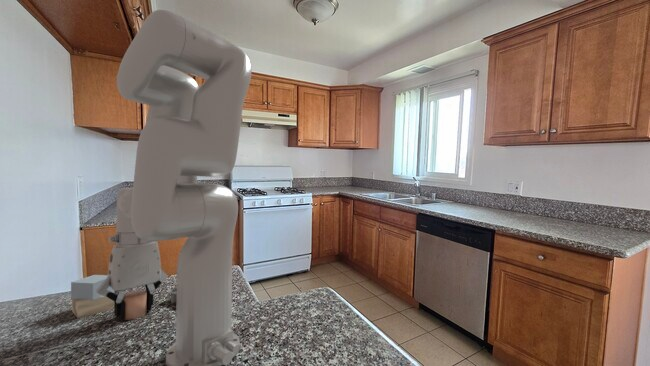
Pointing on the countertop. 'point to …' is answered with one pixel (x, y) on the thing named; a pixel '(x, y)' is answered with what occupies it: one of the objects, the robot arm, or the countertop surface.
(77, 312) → the tower base block
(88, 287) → the tower top block
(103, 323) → the countertop surface
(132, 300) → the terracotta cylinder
